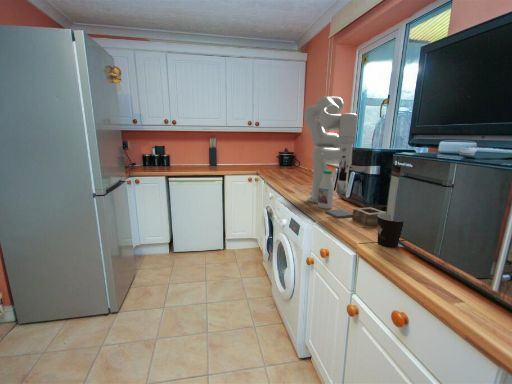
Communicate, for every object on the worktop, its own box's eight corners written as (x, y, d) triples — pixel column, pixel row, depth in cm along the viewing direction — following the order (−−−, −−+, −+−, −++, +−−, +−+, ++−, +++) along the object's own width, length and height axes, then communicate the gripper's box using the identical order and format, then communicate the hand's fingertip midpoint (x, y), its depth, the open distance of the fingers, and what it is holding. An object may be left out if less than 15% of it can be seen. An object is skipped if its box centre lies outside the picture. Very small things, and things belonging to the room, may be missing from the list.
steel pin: (341, 193, 122) (343, 166, 119) (335, 192, 126) (337, 165, 123) (348, 193, 123) (351, 166, 121) (342, 191, 127) (345, 165, 125)
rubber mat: (325, 212, 130) (325, 210, 130) (341, 211, 133) (341, 209, 133) (337, 218, 121) (337, 216, 121) (354, 216, 124) (355, 214, 124)
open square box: (352, 219, 120) (353, 208, 119) (369, 217, 123) (370, 207, 122) (368, 225, 111) (369, 214, 110) (386, 223, 114) (387, 213, 113)
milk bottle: (327, 205, 145) (329, 169, 141) (335, 208, 138) (338, 171, 134) (314, 205, 143) (317, 169, 139) (322, 209, 136) (325, 171, 132)
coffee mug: (402, 251, 86) (406, 222, 84) (374, 246, 90) (377, 218, 87) (399, 239, 96) (403, 213, 94) (374, 235, 100) (377, 210, 98)
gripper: (353, 141, 111) (349, 183, 114) (356, 141, 126) (353, 178, 129) (335, 140, 114) (332, 181, 118) (340, 141, 129) (337, 177, 133)
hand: (343, 179), depth 123 cm, fingers closed on steel pin, 4 cm apart
